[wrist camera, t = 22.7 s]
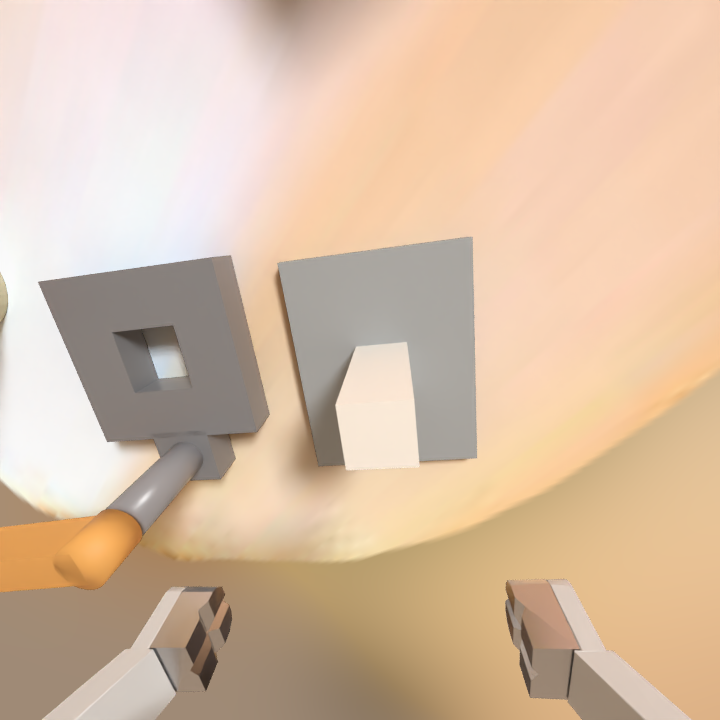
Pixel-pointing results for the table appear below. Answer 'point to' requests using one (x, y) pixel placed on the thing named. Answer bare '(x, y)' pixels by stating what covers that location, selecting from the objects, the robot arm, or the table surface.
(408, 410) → the plug
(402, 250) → the pad
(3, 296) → the reusable coffee cup
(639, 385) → the table surface
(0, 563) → the rounded-end orange bar
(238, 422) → the socket
